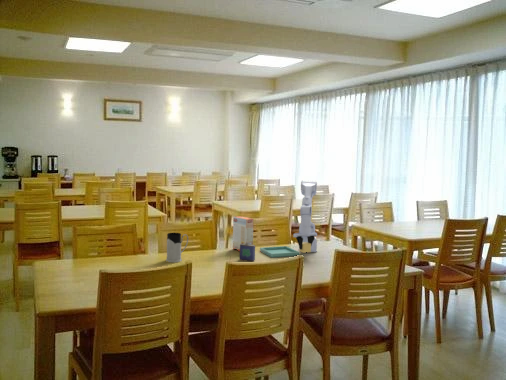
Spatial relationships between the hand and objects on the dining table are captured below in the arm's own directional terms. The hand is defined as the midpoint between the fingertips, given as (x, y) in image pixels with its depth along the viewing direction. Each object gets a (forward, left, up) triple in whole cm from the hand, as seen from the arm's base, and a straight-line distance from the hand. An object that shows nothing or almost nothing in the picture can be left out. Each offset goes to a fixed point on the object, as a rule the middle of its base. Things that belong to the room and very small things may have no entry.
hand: (304, 248), depth 269 cm
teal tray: (+10, -14, -5) cm, 18 cm away
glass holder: (+72, -15, -5) cm, 74 cm away
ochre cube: (0, 0, -2) cm, 2 cm away
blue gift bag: (+35, -3, -5) cm, 36 cm away
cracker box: (+29, -27, -5) cm, 40 cm away
